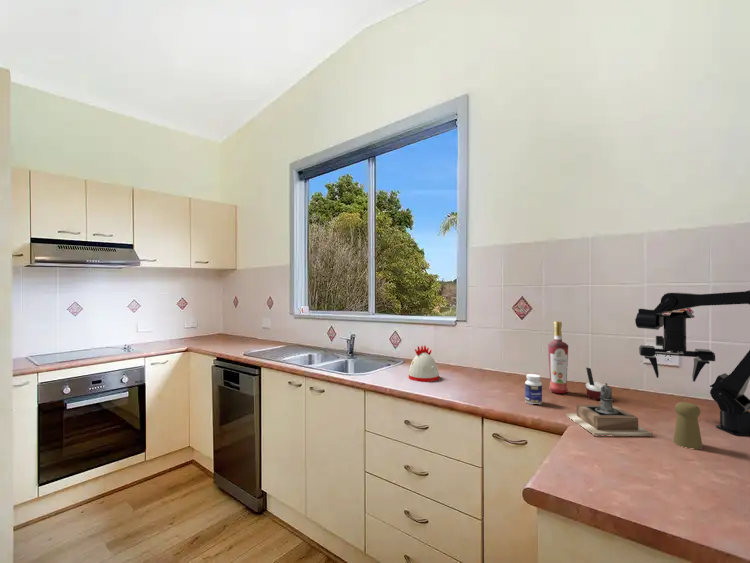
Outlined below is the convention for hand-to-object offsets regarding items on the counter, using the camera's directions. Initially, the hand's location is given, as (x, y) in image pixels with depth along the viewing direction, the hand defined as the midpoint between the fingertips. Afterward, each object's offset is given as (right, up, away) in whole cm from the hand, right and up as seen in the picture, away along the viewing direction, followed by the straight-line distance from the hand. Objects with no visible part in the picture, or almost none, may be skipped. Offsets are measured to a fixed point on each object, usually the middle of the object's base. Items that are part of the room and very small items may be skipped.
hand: (675, 379), depth 121 cm
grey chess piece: (-27, -11, -7) cm, 30 cm away
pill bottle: (-40, -13, +15) cm, 44 cm away
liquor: (-24, -13, +28) cm, 39 cm away
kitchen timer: (-75, -13, +52) cm, 92 cm away
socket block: (-27, -12, -7) cm, 31 cm away
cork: (-13, -12, -21) cm, 28 cm away
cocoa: (-15, -13, +19) cm, 27 cm away
